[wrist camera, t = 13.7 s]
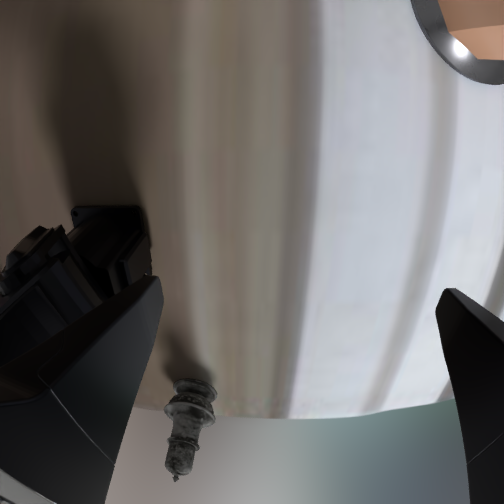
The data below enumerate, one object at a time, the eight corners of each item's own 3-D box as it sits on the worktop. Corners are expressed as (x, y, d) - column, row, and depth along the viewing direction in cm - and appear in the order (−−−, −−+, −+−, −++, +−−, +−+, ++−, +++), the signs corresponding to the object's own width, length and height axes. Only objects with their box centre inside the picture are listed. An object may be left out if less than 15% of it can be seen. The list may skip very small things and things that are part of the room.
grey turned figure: (175, 400, 36) (154, 483, 25) (167, 374, 33) (139, 466, 22) (220, 406, 35) (207, 493, 25) (218, 380, 32) (200, 479, 22)
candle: (409, 61, 15) (443, 59, 11) (403, -68, 10) (429, -92, 6) (522, 101, 15) (561, 113, 11) (519, -14, 9) (553, -19, 5)
